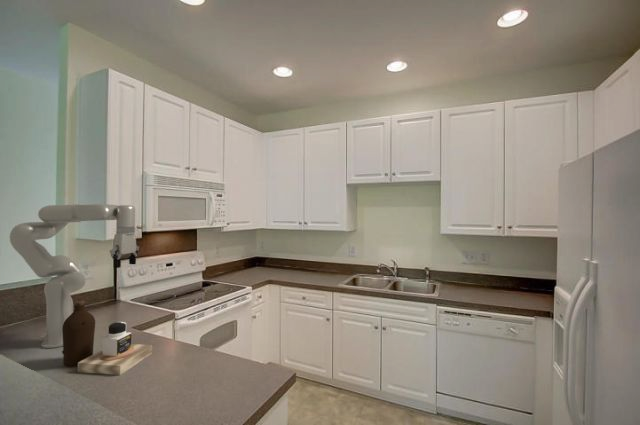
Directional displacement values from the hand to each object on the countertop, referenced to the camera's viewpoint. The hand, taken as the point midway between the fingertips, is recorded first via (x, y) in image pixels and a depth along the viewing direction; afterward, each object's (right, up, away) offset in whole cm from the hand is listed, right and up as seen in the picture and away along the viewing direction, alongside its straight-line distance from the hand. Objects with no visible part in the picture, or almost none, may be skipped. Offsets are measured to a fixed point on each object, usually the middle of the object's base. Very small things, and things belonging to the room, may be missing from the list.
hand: (125, 265), depth 143 cm
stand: (+11, -36, -21) cm, 43 cm away
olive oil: (-6, -36, -21) cm, 42 cm away
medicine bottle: (+10, -32, -21) cm, 40 cm away
